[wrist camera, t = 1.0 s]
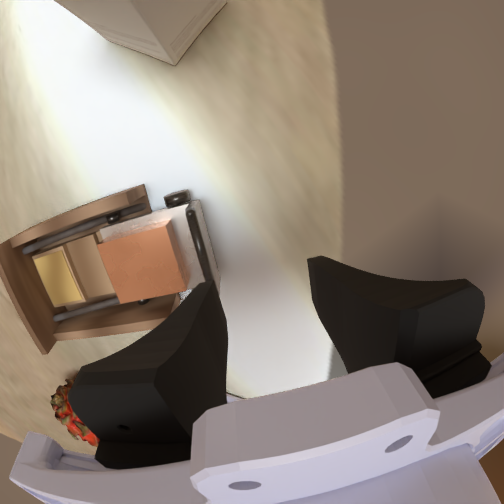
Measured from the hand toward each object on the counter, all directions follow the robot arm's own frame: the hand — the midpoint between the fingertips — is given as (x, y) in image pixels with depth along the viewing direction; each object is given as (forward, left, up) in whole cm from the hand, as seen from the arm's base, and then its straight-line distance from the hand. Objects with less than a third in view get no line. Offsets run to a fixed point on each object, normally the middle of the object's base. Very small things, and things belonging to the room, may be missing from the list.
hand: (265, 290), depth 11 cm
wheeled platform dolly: (-5, +5, -10) cm, 13 cm away
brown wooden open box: (-9, +10, -10) cm, 17 cm away
